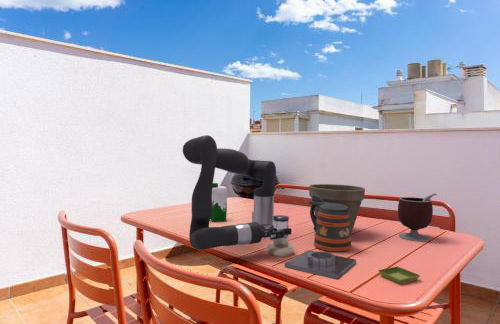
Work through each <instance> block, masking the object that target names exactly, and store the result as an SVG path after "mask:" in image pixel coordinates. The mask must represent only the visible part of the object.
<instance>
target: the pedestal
mask: <svg viewBox="0 0 500 324" xmlns="http://www.w3.org/2000/svg"><path fill="white" fill-rule="evenodd" d="M266 246H267V247H266V248H267V254H268V255H270V256H273V257H283V258H284V257H290V256H293V255H294V253H295V245H294V244H292V243H289V242H288V247H286V248H277V247H274V246H273V242H270V243H268V244H267V245H266Z"/></svg>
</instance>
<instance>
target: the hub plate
mask: <svg viewBox="0 0 500 324" xmlns="http://www.w3.org/2000/svg"><path fill="white" fill-rule="evenodd" d="M356 263H357V259H355V258H351V257H350V258H349V257H345V256H342V255H341V256H340V255H335V254H333V253H331V252H329V251H321V250H320V251H317V250H316V251H314V250H309V249H307V250H306V251H305V252H302V253H300V254H298V255H297V256H295V257H293V258H291V259H290V260H288V261H287V262H284V268H288V269H293V270H296V271H301V272H305V273H309V274H314V275H317V276H318V275H319V276H323V277H326V278H330V279H335V280H338V279H339V278H340V277H342V275H344V274H345V273H346V272H347V271H349V270H350V269H351V268H352V267H353V266H355V265H356Z"/></svg>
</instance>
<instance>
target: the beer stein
mask: <svg viewBox="0 0 500 324" xmlns="http://www.w3.org/2000/svg"><path fill="white" fill-rule="evenodd" d="M308 203H309V205H311V206H310V209H309V215H310V219H311V220H310V221H311V222H312V224H313V230H314V242H313V246H314V247H316V248H317V249H319V250H320V251H323V252H329V253H331V252H332V253H341V252H342V253H345V252H348V251H350V250H351V249H352V236H351V235H350V228H349V225H350V221H349V213H348V210H349V207H347V206H345V205H342V204H337V203H328V202H323V199H322V198H321V197H320V196H318V195H316V194H314V195H313V198H311V200H309V201H308ZM316 206H318V207H319V210H318V213H317V217H316V216H315V212H314V209H315V207H316Z"/></svg>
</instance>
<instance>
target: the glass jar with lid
mask: <svg viewBox="0 0 500 324" xmlns="http://www.w3.org/2000/svg"><path fill="white" fill-rule="evenodd" d="M289 220H290V216H288V215H283V214H282V215H281V214H277V215H274V216H273V228H276V229H286V228H289ZM273 232H274V230H273ZM279 234H280V233H279ZM272 243H273V246H274V247H277V248H286V247H288V243H289V235H284V238H279V239H274V240H273V241H272Z"/></svg>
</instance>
